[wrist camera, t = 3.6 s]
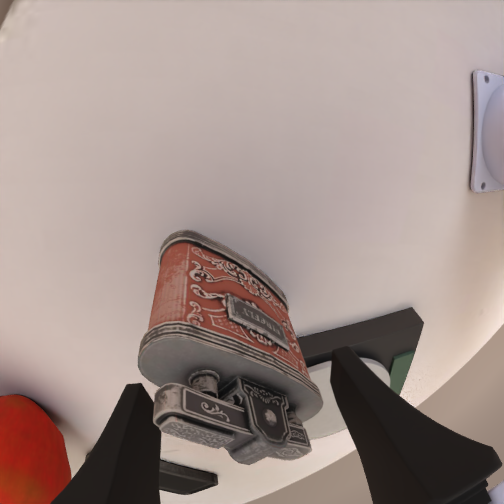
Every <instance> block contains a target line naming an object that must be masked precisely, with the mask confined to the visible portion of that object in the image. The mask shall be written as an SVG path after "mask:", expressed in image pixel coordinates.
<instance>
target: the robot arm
mask: <svg viewBox="0 0 504 504" xmlns="http://www.w3.org/2000/svg"><path fill="white" fill-rule="evenodd" d="M484 77H485V80H484ZM473 84H474V149H473V164H472V176H471V190H472V191H473V192H475V193H483V192H490V191H498V190H504V76H500V75H497V74H493V73H489V72H485V71H481V70H475V71H474V73H473ZM481 184H482V185H481ZM330 384H331V387H332V390H333V394H334V397H335V400H336V403H337V406H338V408H339V410H340V412H341V415H342V417H343V419H344V421H345V424H346V426H347V428H348V430H349V432H350V435H351V437H352V439H353V441H354V444H355V446H356V448H357V451H358V453H359V456H360V459H361V462H362V464H363V468H364V472H365V475H366V478H367V482H368V485H369V489H370V493H371V497H372V501H373V504H504V480H503V481H502V482H500V483H499V484H497V485H496V486H495V487H493V488H491V489H490V490H488V491H487V490H486V487H487V486H488V483H487V481H486V478H488V477H489V476H490V475H492V474H493V473H494V472H495V471H497V470H498V469H499V468H500V467H501V466H502V462H501V461H500V459H499V457H498V455H497V453H496V452H495V450H494V449H493V447H491V446H487V445H484V444H482V443H479V442H476V441H474V440H471V439H469V438H467V437H464V436H462V435H460V434H458V433H456V432H454V431H452V430H450V429H448V428H446V427H444V426H442V425H441V424H439V423H437V422H435V421H434V420H432V419H431V418H429V417H427V416H426V415H424V414H423V413H421V412H420V411H419V410H417V409H416V408H414V407H413V406H412V405H410V404H409V403H408V402H406V401H405V400H404V399H403V398H402V397H400V396H399V395H398V394H397V393H395V392H394V391H393V390H392V389H391V388H390V387H389V386H388V385H386V384H385V383H384V382H383V381H382V380H381V379H380V378H379V377H378V376H377V375H376V374H375V373H374V372H373V371H372V370H371V369H370V368H369V367H368V366H367V365H366V364H365V363H364V362H363V361H362V360H361V359H360V358H359V357H358V356H357V354H356V353H355V352H354V351H353V350H352V349H351V348H350V347H349V346H344V347H341V348H337V349H333V350H332V360H331V374H330ZM153 414H154V402H153V400H152V399H151V397H150V396H149V394H148V393H147V391H146V390H145V388H144V387H143V385H142V383H137V384H127V385H126V387H125V389H124V391H123V393H122V395H121V397H120V399H119V401H118V403H117V405H116V407H115V409H114V411H113V413H112V415H111V417H110V419H109V421H108V423H107V425H106V427H105V429H104V430H103V432H102V434H101V436H100V438H99V439H98V441H97V443H96V445H95V446H94V448H93V450H92V451H91V453H90V455H89V456H88V458H87V459H86V461H85V462H84V464H83V465H82V467H81V468H80V469H79V471H78V472H77V473H76V475H75V476H74V477H73V478H72V480H71V481H70V482H69V483H68V485H67V486H66V487H65V488H64V489H63V490H62V491H61V492H60V493H59V494H58V495H57V497H56V498H55V499H54V500H53V501H52V502H51V503H50V504H161V503H160V493H159V469H160V449H161V431H160V429H159V427H158V426H156V425H155V424H154V423H153Z"/></svg>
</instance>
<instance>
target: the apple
mask: <svg viewBox="0 0 504 504" xmlns="http://www.w3.org/2000/svg"><path fill="white" fill-rule="evenodd" d="M70 481H71V470H70V465H69V461H68V457H67V452H66V447H65V443H64V437H63V435H62V434H61V432H60V431H59V429H58V428H57V427H56V425H55V424H54V423H53V422H52V420H51V419H50V418H49V416H48V415H47V414H46V413H45V411H44V410H42V409H41V408H40V407H39V406H38V405H37V404H36V403H34V402H33V401H32V400H30V399H28V398H26V397H24V396H21V395H17V394H14V395H7V396H0V504H50V503H51V502H52V501H53V500H54V499H55V498H56V497H57V495H58V494H59V493H60V492H61V491H62V490H63V489H64V488H65V487H66V486H67V485H68V483H69V482H70Z"/></svg>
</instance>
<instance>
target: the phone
mask: <svg viewBox="0 0 504 504" xmlns="http://www.w3.org/2000/svg"><path fill="white" fill-rule="evenodd" d="M89 455H90V453H89V454H88V455H87V456H86V459H87V458H88V456H89ZM86 459H85V461H86ZM216 485H218V477H217V475H215V474H210V473H206V472H202V471H197V470H193V469H189V468H186V467H182V466H178V465H174V464H171V463H167V462H164V461H161V460H160V469H159V490H163V491H167V492H171V493H176V494H181V495H189V494H193V493H196V492H199V491H202V490H205V489H208V488H210V487H213V486H216Z"/></svg>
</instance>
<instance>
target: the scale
mask: <svg viewBox="0 0 504 504" xmlns="http://www.w3.org/2000/svg"><path fill="white" fill-rule="evenodd" d="M423 324H424V322H423V321H422V319H421V318H420V317H419V315H418V314H417V313H416V312H415V310H414V309H413V308H412V307H411V308H408V309H405V310H402V311H399V312H395V313H392V314H389V315H385V316H382V317H378V318H375V319H371V320H368V321H364V322H360V323H357V324H353V325H349V326H345V327H341V328H338V329H334V330H330V331H325V332H321V333H317V334H313V335H309V336H304V337H300V338H296V339H297V341H298V344H299V347H300V350H301V353H302V356H303V359H304V361H305V364H306V367H307V370H308V373H309V376H310V379H311V381H312V382H314V383H315V384H316V385H317V387H318V388H319V391H320V393H321V396H322V399H323V407H322V409H321V410H320V411H319V413H317V414H316V415H315V416H314V417H312V418H311V419H309V420H307V421H305V422H303V423H302V424H303V427H304V428H306V431H307V434H308V438H309V440H313V439H318V438H322V437H326V436H329V435H332V434H335V433H337V432H340V431H342V430H344V429H347V426H346V424H345V421H344V419H343V417H342V415H341V412H340V410H339V408H338V406H337V403H336V400H335V397H334V394H333V390H332V387H331V384H330V374H331V360H332V350H333V349H337V348H341V347H344V346H349V347H350V348H351V349H352V350H353V351H354V352H355V353H356V354H357V356H358V357H359V358H360V359H361V360H362V361H363V362H364V363H365V364H366V365H367V366H368V367H369V368H370V369H371V370H372V371H373V372H374V373H375V374H376V375H377V376H378V377H379V378H380V379H381V380H382V381H383V382H384V383H385V384H386V385H388V386H389V387H390V388H391V389H392V390H393V391H394V392H395V393H397V394H398V395H400V393H401V390H402V387H403V385H404V382H405V379H406V377H407V374H408V371H409V368H410V366H411V363H412V360H413V357H414V354H415V351H416V348H417V344H418V341H419V338H420V335H421V331H422V328H423Z"/></svg>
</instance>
